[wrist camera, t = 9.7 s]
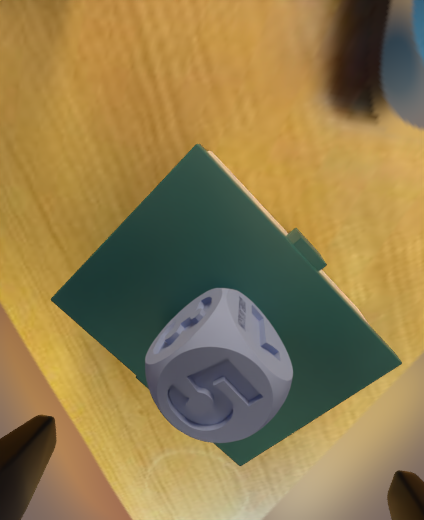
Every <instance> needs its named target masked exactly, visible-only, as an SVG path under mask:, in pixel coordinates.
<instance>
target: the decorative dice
mask: <svg viewBox="0 0 424 520" xmlns="http://www.w3.org/2000/svg"><path fill="white" fill-rule="evenodd" d="M145 374H146V380H147V384H148V388H149V390H150V393H151V395H152V398H153V400H154V402H155V404H156V405H157V407H158V409H159V410H160V412H161V413H162V414H163V416H164V417H165V418H166V419H167V420H168V421H169V422H170V423H171V424H172V425H173V426H174V427H175V428H177V429H178V430H179V431H181V432H183V433H184V434H186V435H188V436H190V437H192V438H195V439H198V440H201V441H205V442H212V443H227V442H233V441H238V440H241V439H244V438H247V437H249V436H251V435H253V434H254V433H256V432H257V431H259V430H260V429H261V428H263V427H264V426H265V425H266V424H267V423H268V422H269V421H270V420H271V419H272V418H273V417H274V416H275V415H276V413H277V412H278V411H279V409H280V408H281V406H282V405H283V403H284V401H285V400H286V398H287V395H288V393H289V390H290V387H291V383H292V377H293V368H292V364H291V361H290V358H289V355H288V353H287V351H286V348H285V346H284V345H283V343H282V341H281V339H280V337H279V336H278V334H277V332H276V331H275V329H274V328H273V326H272V325H271V323H270V322H269V321H268V319H267V318H266V317H265V315H264V314H263V313H262V312H261V311H260V309H259V308H258V307H257V306H256V305H255V304H254V303H253V302H252V301H251V300H250V299H249V298H247V297H246V296H245V295H244V294H242V293H241V292H239V291H237V290H234V289H227V288H214V289H211V290H209V291H207V292H205V293H203V294H202V295H200V296H199V297H197V298H196V299H194V300H193V301H192V302H190V303H189V304H188V305H187V306H186V307H184V308H183V309H182V310H181V311H180V312H179V313H178V314H177V315H176V316H175V317H174V318H173V319H172V320H171V321H170V322H169V323H168V324H167V325H166V326H165V327H164V328H163V330H162V331H161V332H160V333H159V334H158V336H157V337H156V338H155V340H154V341H153V343H152V344H151V346H150V348H149V350H148V352H147V354H146V357H145Z"/></svg>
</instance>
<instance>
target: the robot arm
mask: <svg viewBox="0 0 424 520" xmlns="http://www.w3.org/2000/svg"><path fill="white" fill-rule="evenodd" d="M55 445H56V428H55V419H54V418H53V417H52V416H46V415H38V416H36V417H34V418H32V419H31V420H29V421H28V422H26V423H25V424H23V425H21V426H20V427H18V428H17V429H15V430H13V431H12V432H10V433H9V434H7V435H5V436H4V437H2V438H1V439H0V520H21V518H22V516H23V514H24V512H25V511H26V509H27V507H28V505H29V502H30V500H31V498H32V496H33V494H34V492H35V490H36V488H37V485H38V483H39V481H40V479H41V477H42V475H43V472H44V470H45V468H46V466H47V464H48V462H49V459H50V457H51V455H52V453H53V451H54V448H55ZM387 500H388V506H389V510H390V514H391V519H392V520H424V482H423V481H422V480H421V479H420V478H419V477H418V476H417V475H416V474H414V473H412V472H406V471H397V472H395V474H394V477H393V480H392V483H391V485H390V488H389V491H388V495H387Z"/></svg>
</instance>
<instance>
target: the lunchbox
mask: <svg viewBox="0 0 424 520" xmlns="http://www.w3.org/2000/svg"><path fill="white" fill-rule="evenodd" d="M326 265H327V264H326V263H325V261H324V260H323V258H322V257H321V255H320V254H319V252H318V251H317V250H316V249H315V248H314V247H313V245H312V244H311V243H310V242H309V241H308V240H307V239H306V238H305V237H304V236H303V235H302V233H301V232H300V231H299V230H298V229H297V228H295V229H293V230H292V231H291V232H290V233H289V234H288V233H287V232H286V231H285V229H284V228H283V227H282V226H281V225H280V224H279V223H278V222H277V221H276V220H275V219H274V218H273V217H272V215H271V214H270V213H269V212H268V211H267V210H266V209H265V208H264V207H263V206H262V205H261V204H260V203H259V201H258V200H257V199H256V198H255V197H254V196H253V195H252V194H251V193H250V192H249V191H248V190H247V189H246V188H245V186H244V185H243V184H242V183H241V182H240V181H239V180H238V179H237V178H236V177H235V176H234V175H233V174H232V172H231V171H230V170H229V169H228V168H227V167H226V166H225V165H224V164H223V163H222V162H221V161H220V160H219V158H218V157H217V156H216V155H215V154H214V153H213V152H212V151H206V150H205V149H204V148H203V147H202V146H201V145H200V144H196V145H195V146H194V147H193V148H192V149H191V150H190V151H189V152H188V153H187V155H186V156H185V157H184V158H183V159H182V160H181V161H180V162H179V163H178V164H177V165H176V166H175V167H174V168H173V169H172V170H171V172H170V173H169V174H168V175H167V176H166V177H165V178H164V179H163V180H162V181H161V182H160V183H159V184H158V185H157V186H156V188H155V189H154V190H153V191H152V192H151V193H150V194H149V195H148V196H147V197H146V198H145V199H144V200H143V201H142V202H141V203H140V205H139V206H138V207H137V208H136V209H135V210H134V211H133V212H132V213H131V214H130V215H129V216H128V217H127V218H126V219H125V220H124V222H123V223H122V224H121V225H120V226H119V227H118V228H117V229H116V230H115V231H114V232H113V233H112V234H111V235H110V236H109V237H108V239H107V240H106V241H105V242H104V243H103V244H102V245H101V246H100V247H99V248H98V249H97V250H96V251H95V252H94V253H93V255H92V256H91V257H90V258H89V259H88V260H87V261H86V262H85V263H84V264H83V265H82V266H81V267H80V268H79V269H78V270H77V272H76V273H75V274H74V275H73V276H72V277H71V278H70V279H69V280H68V281H67V282H66V283H65V284H64V285H63V286H62V287H61V289H60V290H59V291H58V292H57V293H56V294H55V295H54V296H53V297H52V298H51V301H52V302H54V303H55V304H56V305H57V306H58V307H59V308H60V309H62V310H63V311H64V312H65V313H66V314H67V315H68V316H69V317H71V318H72V319H73V320H74V321H75V322H76V323H77V324H79V325H80V326H81V327H82V328H83V329H84V330H85V331H87V332H88V333H89V334H90V335H91V336H92V337H93V338H95V339H96V340H97V341H98V342H99V343H100V344H101V345H102V346H104V347H105V348H106V349H107V350H108V351H109V352H110V353H112V354H113V355H114V356H115V357H116V358H117V359H118V360H120V361H121V362H122V363H123V364H124V365H125V366H126V367H128V368H129V369H130V370H131V371H132V372H133V373H134V374H135V375H136V378H137V379H138V380H139V381H140V382H141V383H143V384H144V385H145V386H146V387H147V388H148V384H147V380H146V374H145V357H146V354H147V352H148V350H149V348H150V346H151V344H152V343H153V341H154V340H155V338H156V337H157V336H158V334H159V333H160V332H161V331H162V330H163V328H164V327H165V326H166V325H167V324H168V323H169V322H170V321H171V320H172V319H173V318H174V317H175V316H176V315H177V314H178V313H179V312H180V311H181V310H182V309H183V308H184V307H186V306H187V305H188V304H189V303H190V302H192V301H193V300H194V299H196V298H197V297H199V296H200V295H202V294H203V293H205V292H207V291H209V290H211V289H214V288H227V289H234V290H237V291H239V292H241V293H242V294H244V295H245V296H246V297H247V298H249V299H250V300H251V301H252V302H253V303H254V304H255V305H256V306H257V307H258V308H259V309H260V311H261V312H262V313H263V314H264V315H265V317H266V318H267V319H268V321H269V322H270V323H271V325H272V326H273V328H274V329H275V331H276V332H277V334H278V336H279V337H280V339H281V341H282V343H283V345H284V346H285V348H286V351H287V353H288V355H289V358H290V361H291V364H292V368H293V377H292V383H291V387H290V390H289V393H288V395H287V398H286V400H285V401H284V403H283V405H282V406H281V408H280V409H279V411H278V412H277V413H276V415H275V416H274V417H273V418H272V419H271V420H270V421H269V422H268V423H267V424H266V425H265V426H264V427H263V428H261V429H260V430H259V431H257V432H256V433H254V434H253V435H251V436H249V437H247V438H244V439H241V440H238V441H233V442H227V443H214V444H215V445H216V446H217V447H219V448H220V449H221V450H222V451H223V452H224V453H225V454H227V455H228V456H229V457H230V458H231V459H232V460H233V461H235V462H236V463H237V464H238V465H239V466H242V465H243V464H245V463H247V462H248V461H250V460H251V459H253V458H254V457H256V456H258V455H259V454H261V453H262V452H264V451H265V450H267V449H269V448H270V447H272V446H273V445H275V444H276V443H278V442H280V441H281V440H283V439H284V438H286V437H287V436H289V435H291V434H292V433H294V432H295V431H297V430H298V429H300V428H302V427H303V426H305V425H306V424H308V423H309V422H311V421H313V420H314V419H316V418H317V417H319V416H321V415H322V414H324V413H325V412H327V411H328V410H330V409H332V408H333V407H335V406H336V405H338V404H339V403H341V402H343V401H344V400H346V399H347V398H349V397H350V396H352V395H354V394H355V393H357V392H358V391H360V390H361V389H363V388H365V387H366V386H368V385H369V384H371V383H372V382H374V381H376V380H377V379H379V378H380V377H382V376H383V375H385V374H387V373H388V372H390V371H391V370H393V369H395V368H396V367H398V366H399V365H401V364H402V362H401V361H400V359H399V358H398V356H397V355H396V354H395V352H394V351H393V350H392V349H391V348H390V347H389V346H388V345H387V344H386V343H385V342H384V341H383V339H382V338H381V337H380V336H379V335H378V334H377V333H376V332H375V331H374V330H373V329H372V328H371V326H370V325H369V324H368V322H367V321H366V319H365V318H364V316H363V315H362V313H361V312H360V310H359V309H358V308H357V307H356V306H355V305H354V304H353V303H352V301H351V300H350V299H349V298H348V297H347V296H346V295H345V294H344V293H343V292H342V291H341V290H340V289H339V288H338V286H337V285H336V284H335V283H334V282H333V281H332V280H331V279H330V278H329V277H328V276H327V275H326V274H325V272H324V271H323V270H322V269H323V268H324V267H325V266H326ZM148 389H149V388H148Z"/></svg>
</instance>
